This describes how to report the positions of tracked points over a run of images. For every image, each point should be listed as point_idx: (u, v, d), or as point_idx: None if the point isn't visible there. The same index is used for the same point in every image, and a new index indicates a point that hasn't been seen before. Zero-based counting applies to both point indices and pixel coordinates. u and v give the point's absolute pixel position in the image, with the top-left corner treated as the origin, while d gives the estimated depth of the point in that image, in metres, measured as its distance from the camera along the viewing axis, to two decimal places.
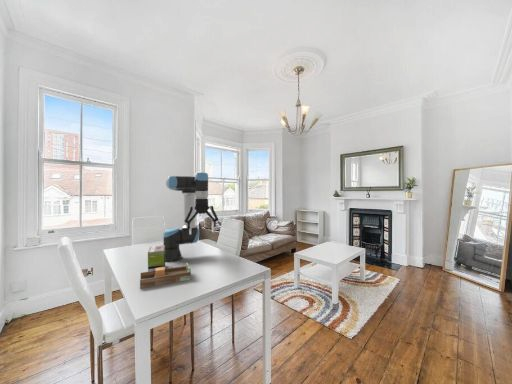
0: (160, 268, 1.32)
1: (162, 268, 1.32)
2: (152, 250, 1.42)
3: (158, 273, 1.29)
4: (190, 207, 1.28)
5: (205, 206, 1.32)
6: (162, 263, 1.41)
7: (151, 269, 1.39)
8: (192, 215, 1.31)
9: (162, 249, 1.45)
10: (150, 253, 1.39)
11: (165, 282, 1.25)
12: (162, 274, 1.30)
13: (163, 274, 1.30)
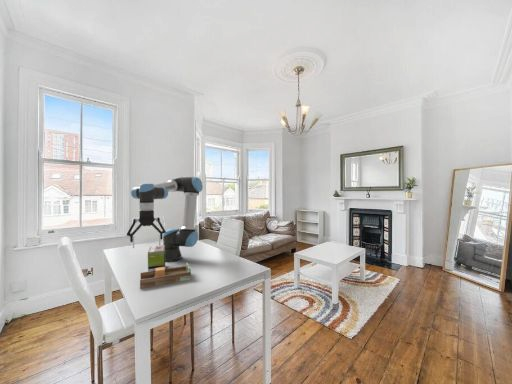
0: (160, 268, 1.32)
1: (162, 268, 1.32)
2: (152, 250, 1.42)
3: (158, 273, 1.29)
4: (133, 219, 1.24)
5: (150, 218, 1.27)
6: (162, 263, 1.41)
7: (151, 269, 1.39)
8: None
9: (162, 249, 1.45)
10: (150, 253, 1.39)
11: (165, 282, 1.25)
12: (162, 274, 1.30)
13: (163, 274, 1.30)
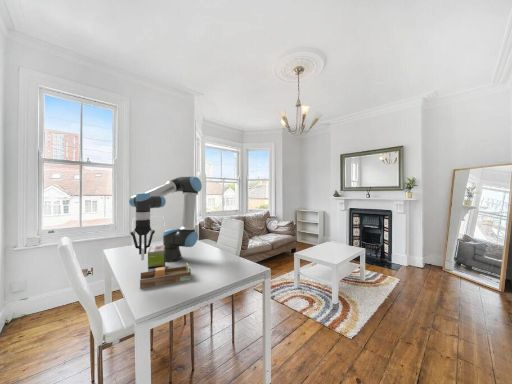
0: (160, 268, 1.32)
1: (162, 268, 1.32)
2: (152, 250, 1.42)
3: (158, 273, 1.29)
4: (130, 233, 1.24)
5: (148, 226, 1.27)
6: (162, 263, 1.41)
7: (151, 269, 1.39)
8: (139, 239, 1.27)
9: (162, 249, 1.45)
10: (150, 253, 1.39)
11: (165, 282, 1.25)
12: (162, 274, 1.30)
13: (163, 274, 1.30)
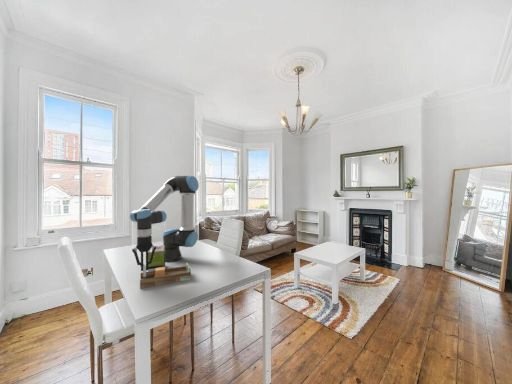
0: (160, 268, 1.32)
1: (162, 268, 1.32)
2: None
3: (158, 273, 1.29)
4: (132, 250, 1.24)
5: (149, 243, 1.28)
6: (162, 263, 1.41)
7: (151, 269, 1.39)
8: (141, 256, 1.28)
9: (162, 249, 1.45)
10: (150, 253, 1.39)
11: (165, 282, 1.25)
12: (162, 274, 1.30)
13: (163, 274, 1.30)
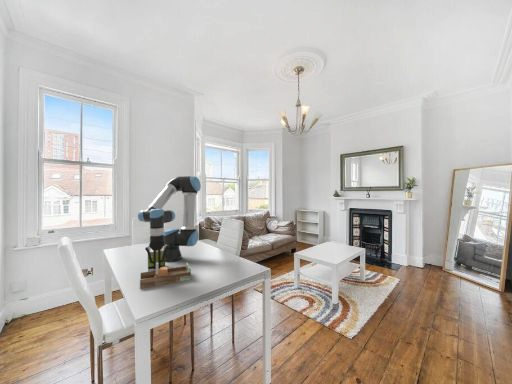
0: (163, 268, 1.32)
1: (165, 268, 1.32)
2: (152, 250, 1.42)
3: (161, 273, 1.29)
4: (145, 249, 1.27)
5: (162, 242, 1.31)
6: (162, 263, 1.41)
7: (151, 269, 1.39)
8: None
9: (162, 249, 1.45)
10: (150, 253, 1.39)
11: (165, 282, 1.25)
12: (165, 273, 1.30)
13: (166, 274, 1.31)
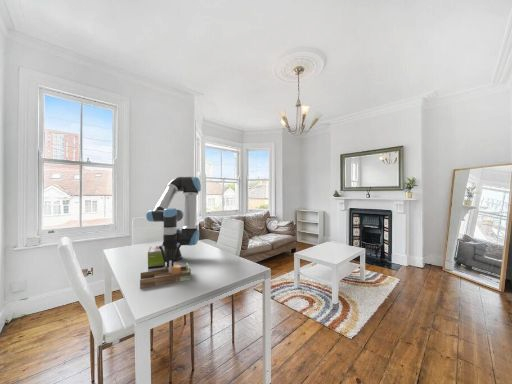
0: (176, 266, 1.36)
1: (177, 266, 1.36)
2: (152, 250, 1.42)
3: (174, 271, 1.33)
4: (159, 247, 1.30)
5: (175, 240, 1.34)
6: (162, 263, 1.41)
7: (151, 269, 1.39)
8: (166, 253, 1.34)
9: None
10: (150, 253, 1.39)
11: (165, 282, 1.25)
12: (178, 271, 1.34)
13: (179, 272, 1.34)
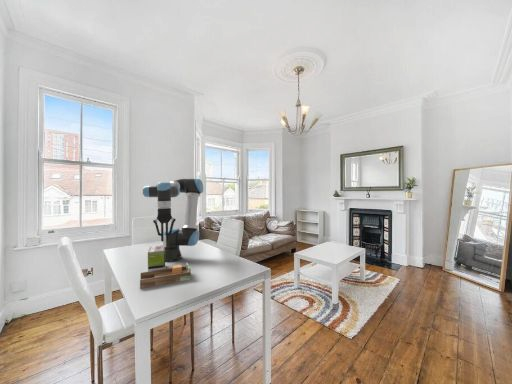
0: (177, 266, 1.36)
1: (179, 266, 1.36)
2: (152, 250, 1.42)
3: (175, 270, 1.33)
4: (153, 221, 1.29)
5: (169, 215, 1.33)
6: (162, 263, 1.41)
7: (151, 269, 1.39)
8: (161, 227, 1.33)
9: (162, 249, 1.45)
10: (150, 253, 1.39)
11: (165, 282, 1.25)
12: (179, 271, 1.34)
13: (180, 271, 1.34)
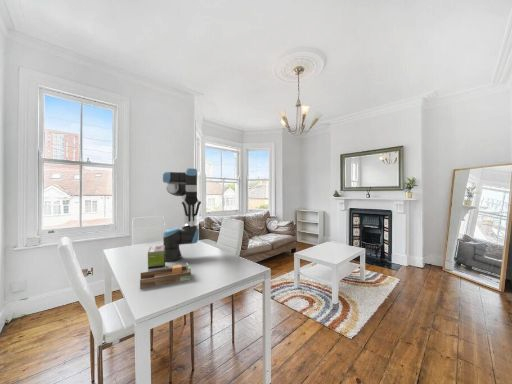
0: (177, 266, 1.36)
1: (179, 266, 1.36)
2: (152, 250, 1.42)
3: (175, 270, 1.33)
4: None
5: (195, 198, 1.48)
6: (162, 263, 1.41)
7: (151, 269, 1.39)
8: (188, 209, 1.48)
9: (162, 249, 1.45)
10: (150, 253, 1.39)
11: (165, 282, 1.25)
12: (179, 271, 1.34)
13: (180, 271, 1.34)
